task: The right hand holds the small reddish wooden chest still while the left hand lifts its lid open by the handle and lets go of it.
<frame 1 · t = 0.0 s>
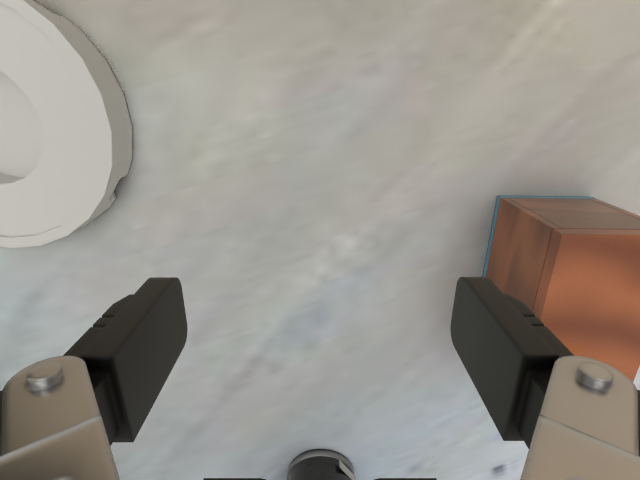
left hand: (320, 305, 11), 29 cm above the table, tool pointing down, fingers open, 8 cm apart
ashtray: (13, 121, 37), on the table
lid: (619, 358, 30), point 15 cm above the table, hinge at 0.0°
chest: (526, 271, 43), on the table
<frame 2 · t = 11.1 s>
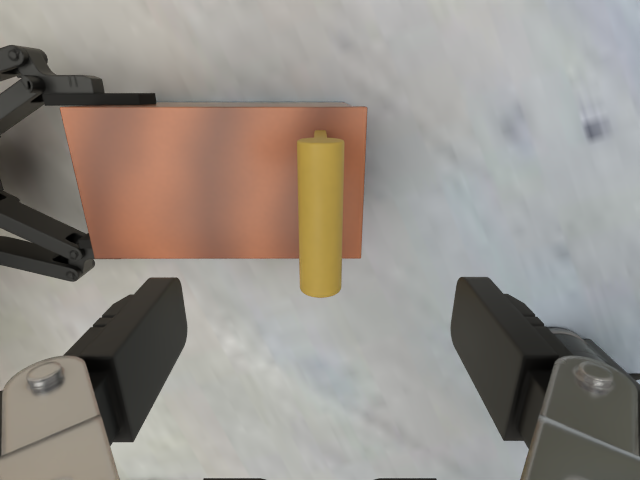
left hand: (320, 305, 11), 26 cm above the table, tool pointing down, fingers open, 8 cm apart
right hand: (159, 173, 29), fingers closed on chest, 10 cm apart
lid: (208, 201, 22), point 15 cm above the table, hinge at 0.0°
chest: (247, 158, 35), on the table, touching right hand
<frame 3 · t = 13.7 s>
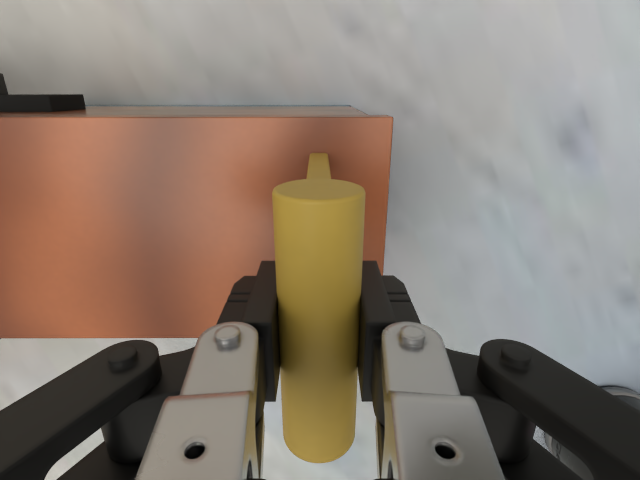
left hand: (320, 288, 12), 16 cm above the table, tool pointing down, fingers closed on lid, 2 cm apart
lid: (134, 272, 13), point 15 cm above the table, hinge at 0.1°, touching left hand
chest: (222, 180, 27), on the table, touching right hand
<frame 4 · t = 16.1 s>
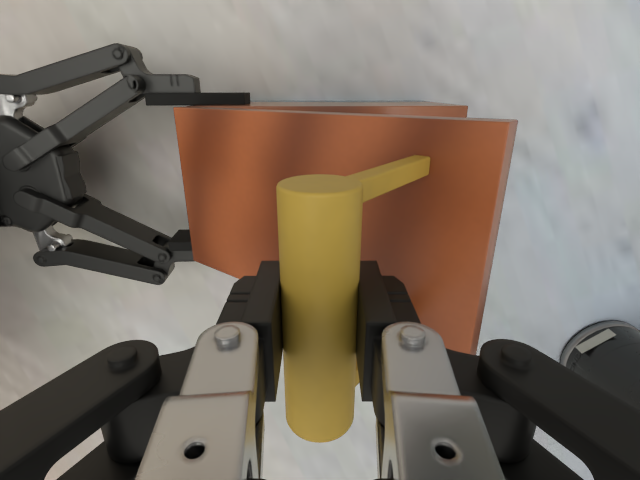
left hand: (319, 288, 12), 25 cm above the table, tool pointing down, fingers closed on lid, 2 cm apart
right hand: (252, 173, 29), fingers closed on chest, 10 cm apart
lid: (249, 233, 17), point 19 cm above the table, hinge at 38.8°, touching left hand
chest: (322, 158, 35), on the table, touching right hand
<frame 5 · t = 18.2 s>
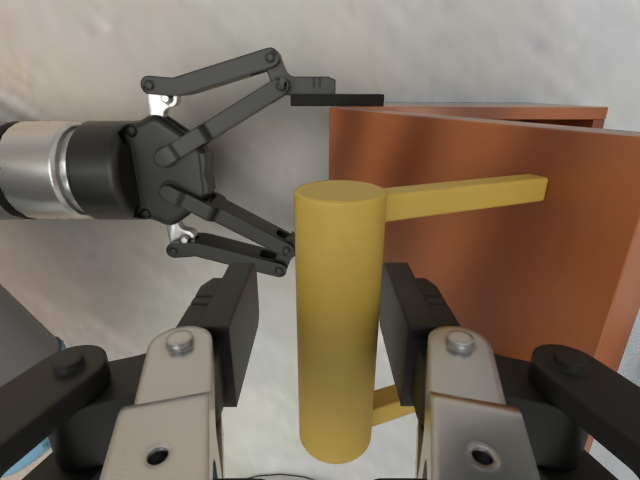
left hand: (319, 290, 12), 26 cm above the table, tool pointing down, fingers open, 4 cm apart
right hand: (377, 171, 30), fingers closed on chest, 10 cm apart
lid: (346, 234, 17), point 21 cm above the table, hinge at 68.0°
chest: (425, 158, 36), on the table, touching right hand
when the right hand's fingers open (7 cm above the table, at t = 22.1 s): chest stays where it is, on the table.
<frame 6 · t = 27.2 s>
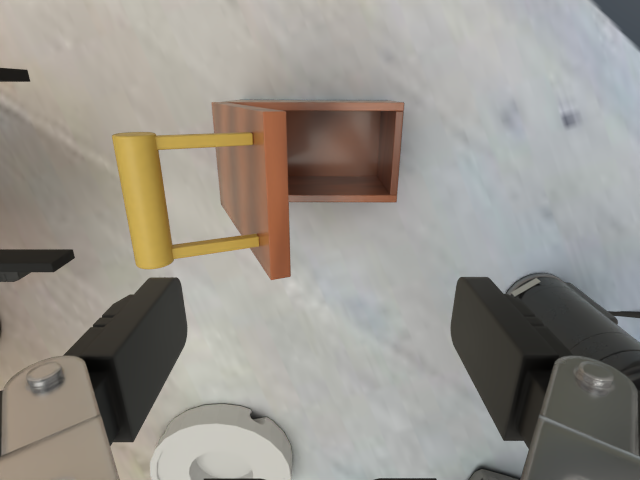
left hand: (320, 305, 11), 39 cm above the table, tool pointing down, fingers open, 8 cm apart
ashtray: (226, 454, 67), on the table
lid: (193, 176, 28), point 21 cm above the table, hinge at 67.2°
chest: (313, 141, 48), on the table
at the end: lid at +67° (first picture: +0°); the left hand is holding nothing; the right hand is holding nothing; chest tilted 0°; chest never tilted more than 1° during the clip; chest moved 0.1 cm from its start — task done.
